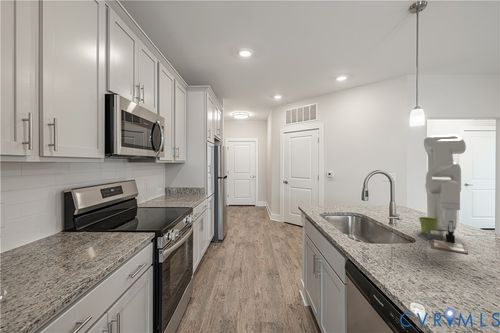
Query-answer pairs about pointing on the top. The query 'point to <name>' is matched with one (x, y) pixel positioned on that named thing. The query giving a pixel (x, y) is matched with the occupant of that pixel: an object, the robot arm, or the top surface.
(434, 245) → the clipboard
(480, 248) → the top surface
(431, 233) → the button cap
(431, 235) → the button box
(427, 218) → the plant pot
